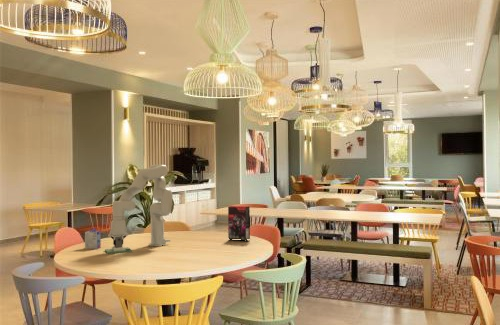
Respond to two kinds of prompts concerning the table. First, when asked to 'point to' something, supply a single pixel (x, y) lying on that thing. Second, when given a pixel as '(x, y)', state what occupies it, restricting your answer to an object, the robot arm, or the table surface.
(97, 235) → the ink cartridge box
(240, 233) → the graphics card box
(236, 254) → the table surface
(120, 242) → the plug
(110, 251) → the circuit board
